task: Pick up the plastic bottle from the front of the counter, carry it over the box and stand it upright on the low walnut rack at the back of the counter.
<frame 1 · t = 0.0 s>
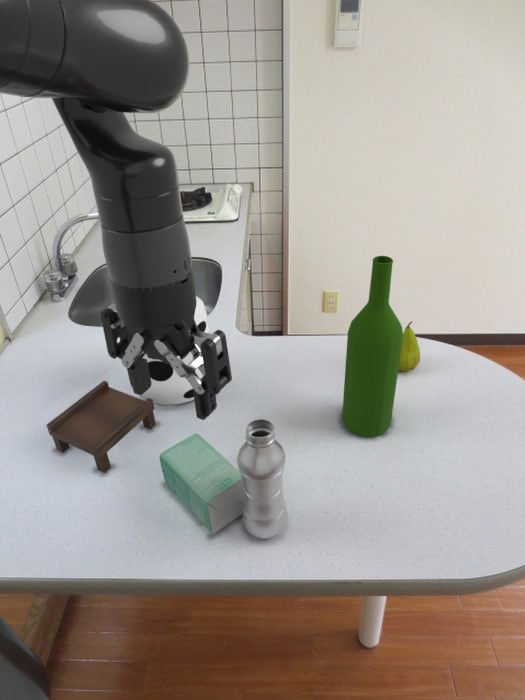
hand: (173, 402, 57), 30 cm above the table, tool pointing down, fingers open, 8 cm apart
box: (205, 496, 84), on the table
rack: (107, 437, 96), on the table
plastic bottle: (265, 527, 79), on the table
fruit: (403, 368, 110), on the table
wine bottle: (366, 421, 97), on the table
milk container: (176, 386, 108), on the table
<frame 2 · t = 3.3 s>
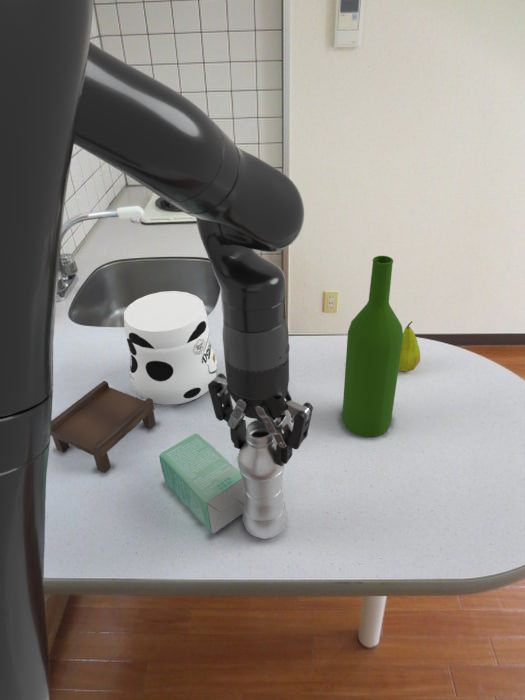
hand: (261, 452, 70), 16 cm above the table, tool pointing down, fingers closed on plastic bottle, 6 cm apart
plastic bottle: (265, 527, 79), on the table, touching gripper
everything else where it was.
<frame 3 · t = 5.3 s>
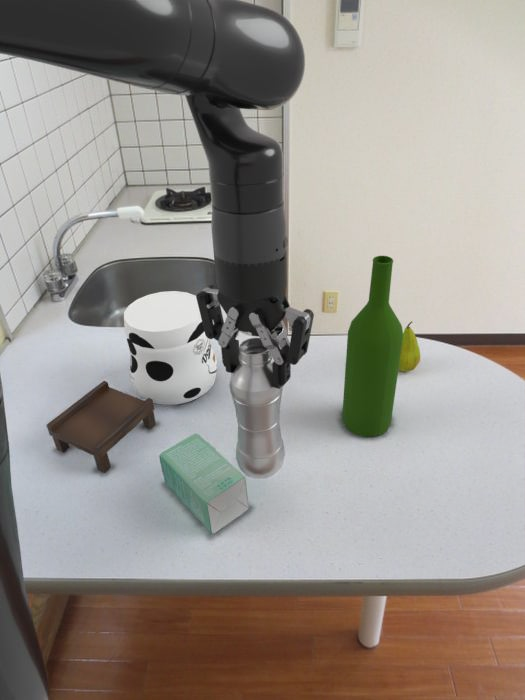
hand: (256, 376, 63), 28 cm above the table, tool pointing down, fingers closed on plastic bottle, 6 cm apart
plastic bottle: (260, 468, 72), point 13 cm above the table, touching gripper
everything else where it was.
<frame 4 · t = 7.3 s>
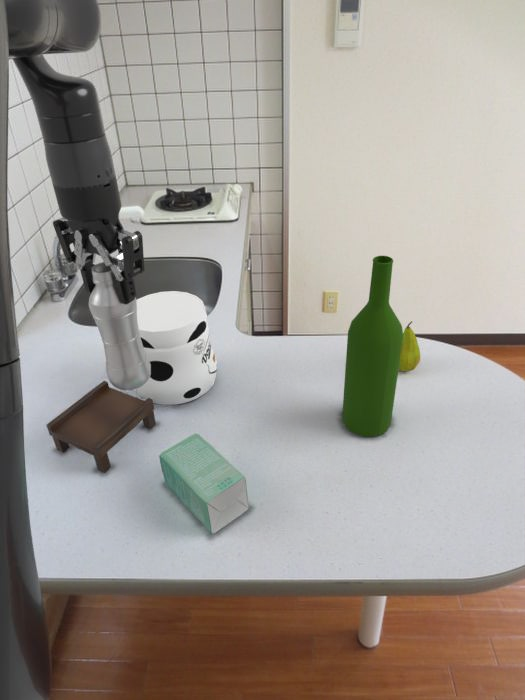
hand: (111, 295, 73), 32 cm above the table, tool pointing down, fingers closed on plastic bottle, 6 cm apart
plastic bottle: (131, 383, 82), point 16 cm above the table, touching gripper
everything else where it was.
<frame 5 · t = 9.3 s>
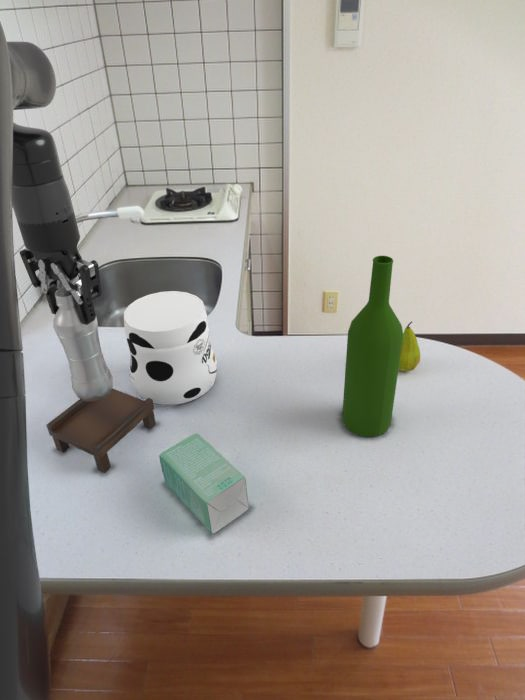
hand: (73, 316, 81), 26 cm above the table, tool pointing down, fingers closed on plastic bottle, 6 cm apart
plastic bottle: (96, 395, 90), point 10 cm above the table, touching gripper
everything else where it was.
when the fingers open (21 cm above the table, at t = 11.1 s): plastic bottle stays where it is, resting on rack.
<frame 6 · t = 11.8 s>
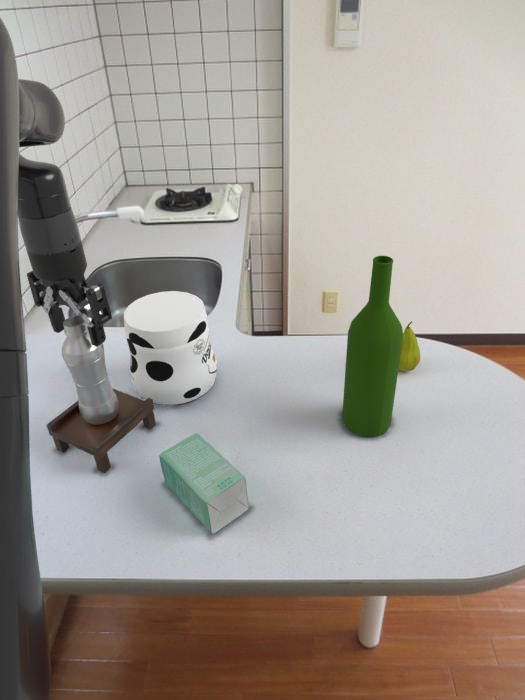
hand: (79, 336, 84), 22 cm above the table, tool pointing down, fingers open, 8 cm apart
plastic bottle: (102, 417, 93), point 5 cm above the table, touching rack
everything else where it was.
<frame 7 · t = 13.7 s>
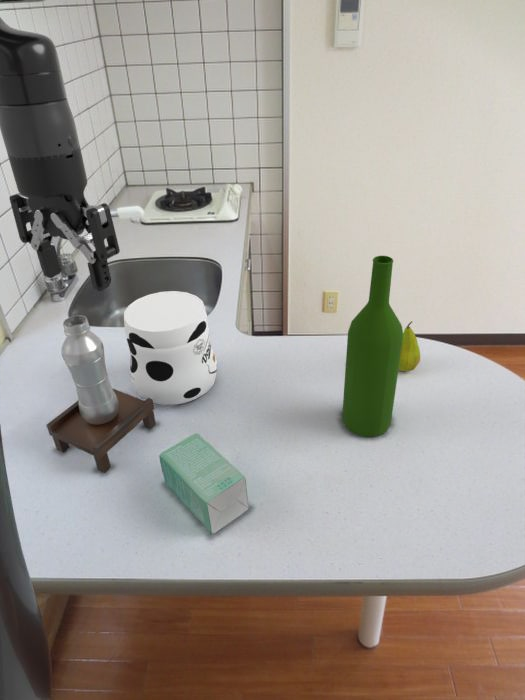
hand: (77, 281, 66), 37 cm above the table, tool pointing down, fingers open, 8 cm apart
nothing on the table moved.
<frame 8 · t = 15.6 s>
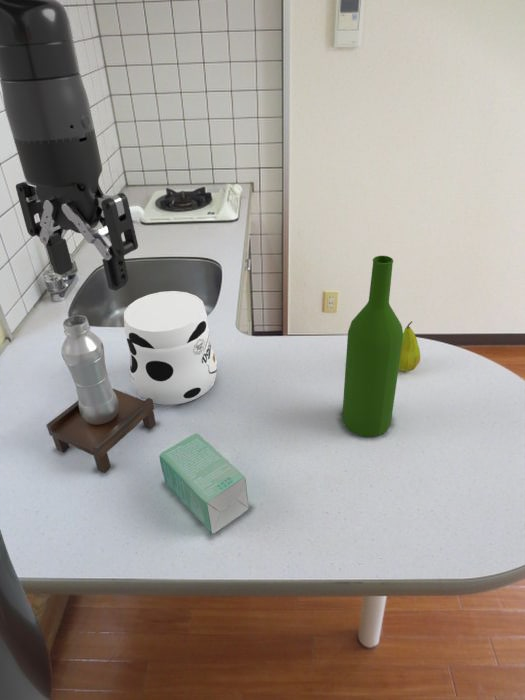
hand: (90, 279, 60), 40 cm above the table, tool pointing down, fingers open, 8 cm apart
nothing on the table moved.
at the end: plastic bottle inside the target area on the rack (0.1 cm from its centre), point 4.8 cm above the rack's base; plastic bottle tilted 0°; the gripper is holding nothing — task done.
